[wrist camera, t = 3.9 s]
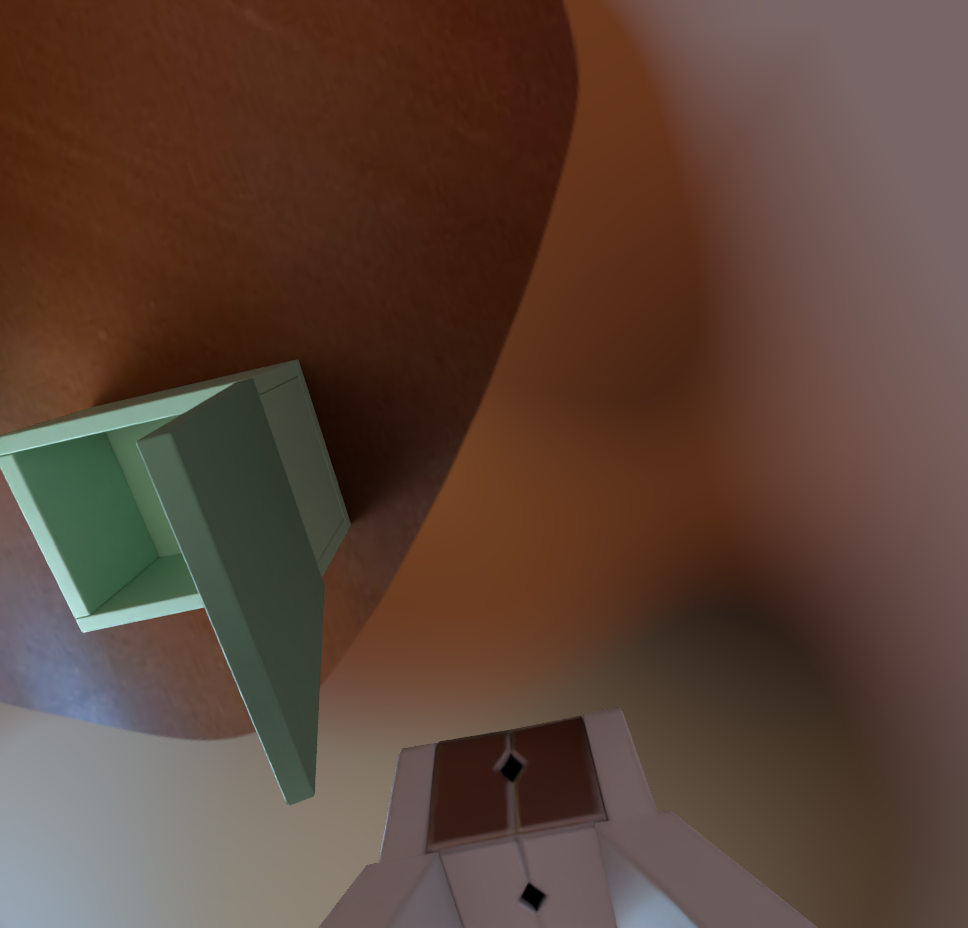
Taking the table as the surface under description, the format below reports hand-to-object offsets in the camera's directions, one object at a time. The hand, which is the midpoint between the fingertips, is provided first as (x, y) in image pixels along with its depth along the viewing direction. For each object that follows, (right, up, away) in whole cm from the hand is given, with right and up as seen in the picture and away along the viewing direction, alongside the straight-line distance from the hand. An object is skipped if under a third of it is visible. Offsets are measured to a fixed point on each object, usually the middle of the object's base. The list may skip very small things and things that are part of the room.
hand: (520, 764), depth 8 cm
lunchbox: (-15, +4, +24) cm, 28 cm away
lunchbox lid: (-8, +1, +11) cm, 13 cm away
